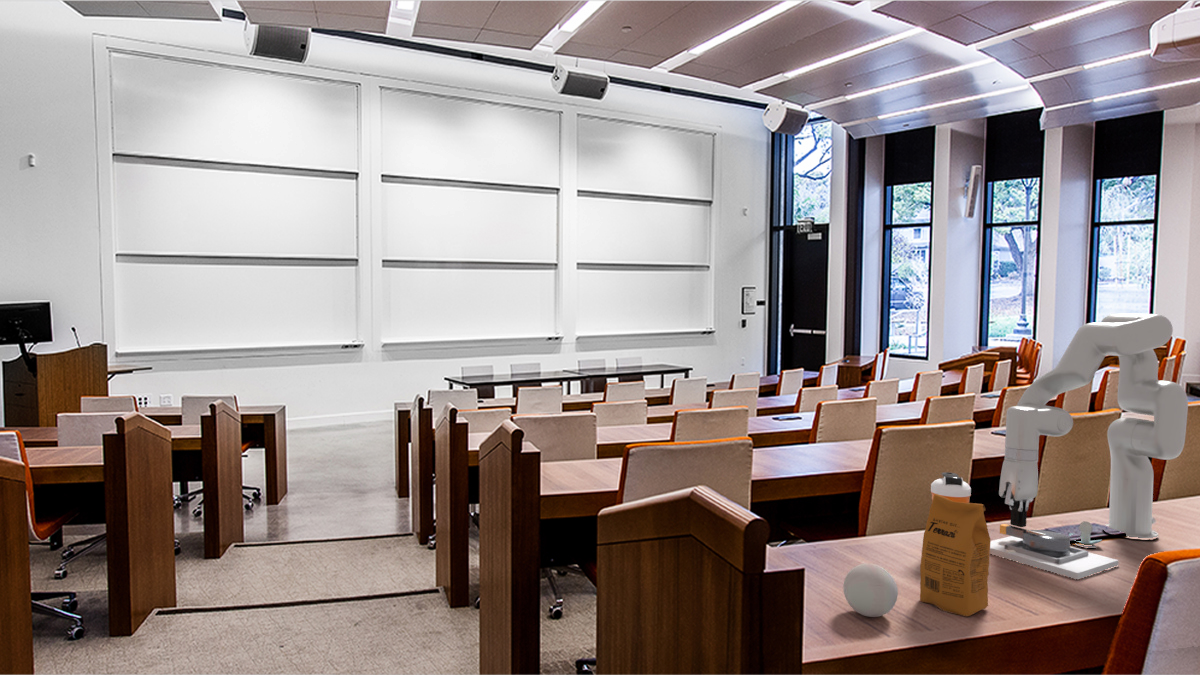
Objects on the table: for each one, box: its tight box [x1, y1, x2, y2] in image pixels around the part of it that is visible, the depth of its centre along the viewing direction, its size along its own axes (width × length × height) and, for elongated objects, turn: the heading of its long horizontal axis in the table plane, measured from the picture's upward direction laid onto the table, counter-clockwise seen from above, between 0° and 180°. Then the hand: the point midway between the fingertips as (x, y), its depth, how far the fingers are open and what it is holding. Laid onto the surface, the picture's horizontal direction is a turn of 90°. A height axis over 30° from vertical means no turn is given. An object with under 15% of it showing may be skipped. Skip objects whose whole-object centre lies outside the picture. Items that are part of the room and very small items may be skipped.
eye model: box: [842, 563, 899, 618], centre depth 150 cm, size 10×10×10 cm
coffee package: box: [919, 494, 992, 617], centre depth 155 cm, size 10×12×22 cm
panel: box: [989, 535, 1120, 580], centre depth 186 cm, size 18×24×3 cm
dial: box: [999, 523, 1071, 558], centre depth 188 cm, size 16×10×4 cm, turn 31°
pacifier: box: [1068, 520, 1103, 549], centre depth 196 cm, size 7×6×6 cm
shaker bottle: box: [930, 471, 972, 503], centre depth 187 cm, size 9×9×20 cm
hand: (1018, 525), depth 196 cm, fingers closed
